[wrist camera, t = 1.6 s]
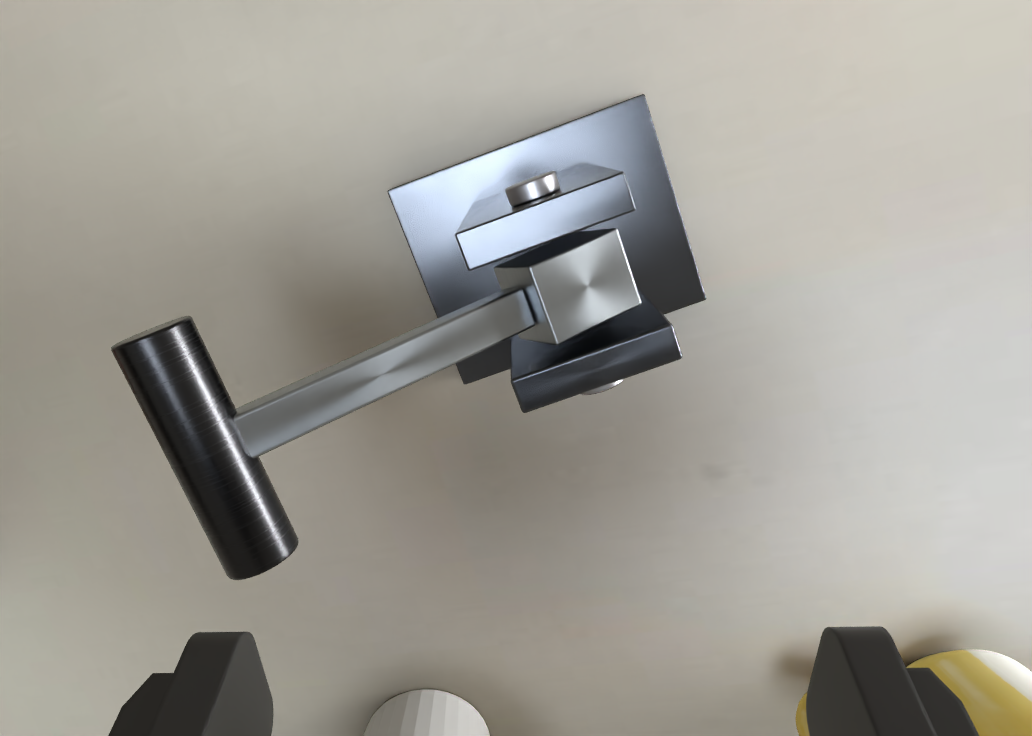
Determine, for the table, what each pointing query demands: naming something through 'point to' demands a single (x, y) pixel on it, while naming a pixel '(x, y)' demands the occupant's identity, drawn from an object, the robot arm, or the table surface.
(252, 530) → the tap lever
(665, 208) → the lever stand
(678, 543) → the table surface
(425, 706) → the coffee cup
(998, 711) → the mug
